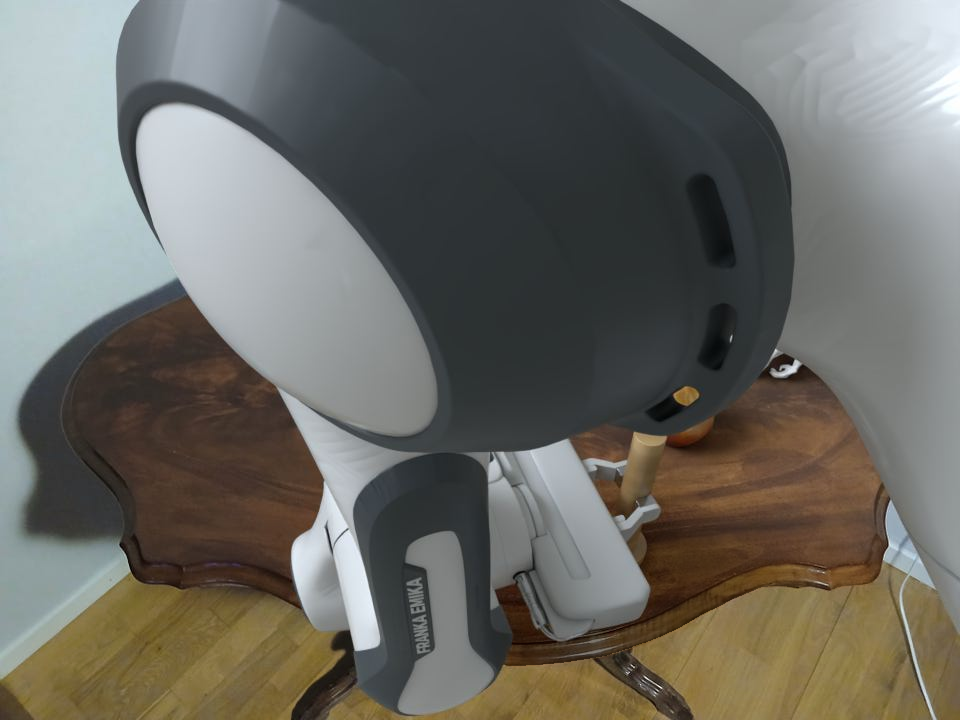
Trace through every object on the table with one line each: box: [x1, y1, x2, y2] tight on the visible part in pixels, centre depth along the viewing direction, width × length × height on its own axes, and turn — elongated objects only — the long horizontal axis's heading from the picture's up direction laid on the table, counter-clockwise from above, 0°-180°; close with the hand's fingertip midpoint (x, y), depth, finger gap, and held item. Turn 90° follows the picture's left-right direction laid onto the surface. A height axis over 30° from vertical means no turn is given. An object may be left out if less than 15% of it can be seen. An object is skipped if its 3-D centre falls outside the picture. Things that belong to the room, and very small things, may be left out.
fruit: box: [665, 386, 716, 448], centre depth 79 cm, size 8×8×8 cm
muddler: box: [613, 431, 667, 567], centre depth 64 cm, size 5×5×17 cm
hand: (644, 487), depth 63 cm, fingers closed on muddler, 2 cm apart
